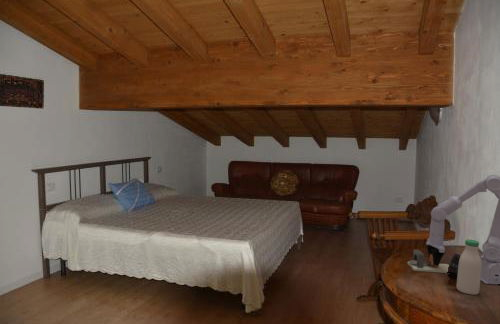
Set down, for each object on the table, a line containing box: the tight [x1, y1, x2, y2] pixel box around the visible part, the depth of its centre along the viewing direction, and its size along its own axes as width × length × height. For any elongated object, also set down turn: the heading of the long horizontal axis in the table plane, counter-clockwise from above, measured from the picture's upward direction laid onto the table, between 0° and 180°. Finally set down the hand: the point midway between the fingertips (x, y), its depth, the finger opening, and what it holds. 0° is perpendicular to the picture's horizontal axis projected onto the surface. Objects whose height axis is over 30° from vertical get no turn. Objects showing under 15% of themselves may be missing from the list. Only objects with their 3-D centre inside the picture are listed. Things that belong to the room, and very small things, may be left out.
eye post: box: [412, 249, 425, 268], centre depth 172 cm, size 7×2×6 cm, turn 175°
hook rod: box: [408, 254, 439, 267], centre depth 172 cm, size 12×4×5 cm, turn 85°
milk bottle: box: [456, 238, 481, 296], centre depth 148 cm, size 8×8×20 cm
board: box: [407, 261, 450, 274], centre depth 172 cm, size 9×18×1 cm, turn 85°
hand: (434, 263), depth 172 cm, fingers closed on hook rod, 4 cm apart
